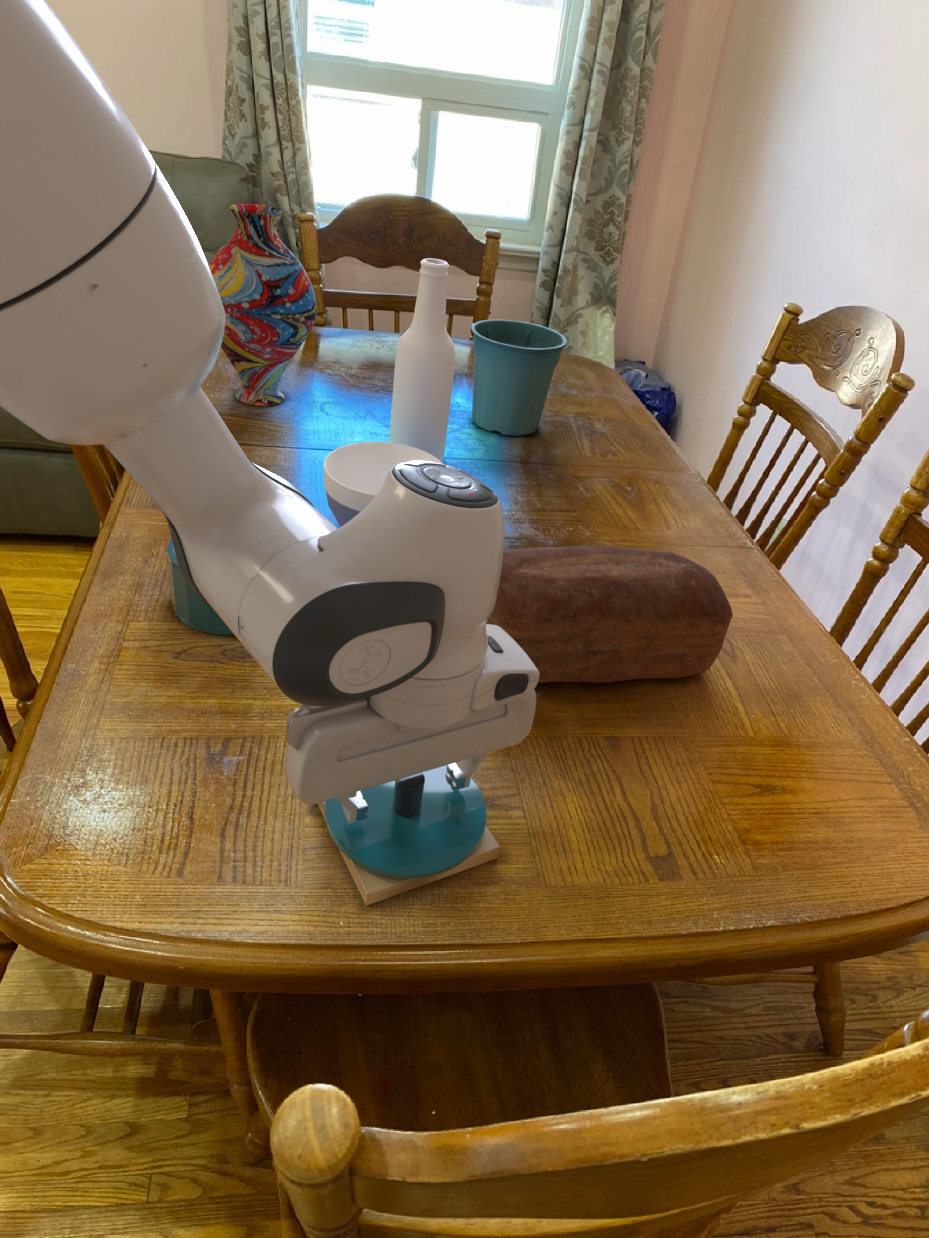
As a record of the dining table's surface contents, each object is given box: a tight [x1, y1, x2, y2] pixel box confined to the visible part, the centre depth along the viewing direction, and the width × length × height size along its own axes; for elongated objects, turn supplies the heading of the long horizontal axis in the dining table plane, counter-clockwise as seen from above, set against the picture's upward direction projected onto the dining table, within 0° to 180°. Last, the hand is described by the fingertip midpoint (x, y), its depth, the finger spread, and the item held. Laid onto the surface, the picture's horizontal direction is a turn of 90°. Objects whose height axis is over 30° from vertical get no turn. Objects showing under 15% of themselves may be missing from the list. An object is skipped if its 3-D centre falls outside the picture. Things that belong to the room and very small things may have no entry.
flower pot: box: [470, 319, 568, 437], centre depth 143 cm, size 16×16×16 cm
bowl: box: [322, 441, 443, 527], centre depth 108 cm, size 16×16×10 cm
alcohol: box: [388, 257, 457, 463], centre depth 122 cm, size 9×9×30 cm
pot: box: [166, 536, 235, 636], centre depth 92 cm, size 12×12×8 cm
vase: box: [208, 203, 318, 407], centre depth 135 cm, size 19×19×30 cm
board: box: [316, 801, 501, 906], centre depth 70 cm, size 12×12×2 cm
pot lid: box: [324, 765, 488, 879], centre depth 68 cm, size 14×14×5 cm
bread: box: [486, 545, 734, 685], centre depth 91 cm, size 14×28×12 cm, turn 102°
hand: (407, 799), depth 69 cm, fingers open, 8 cm apart
